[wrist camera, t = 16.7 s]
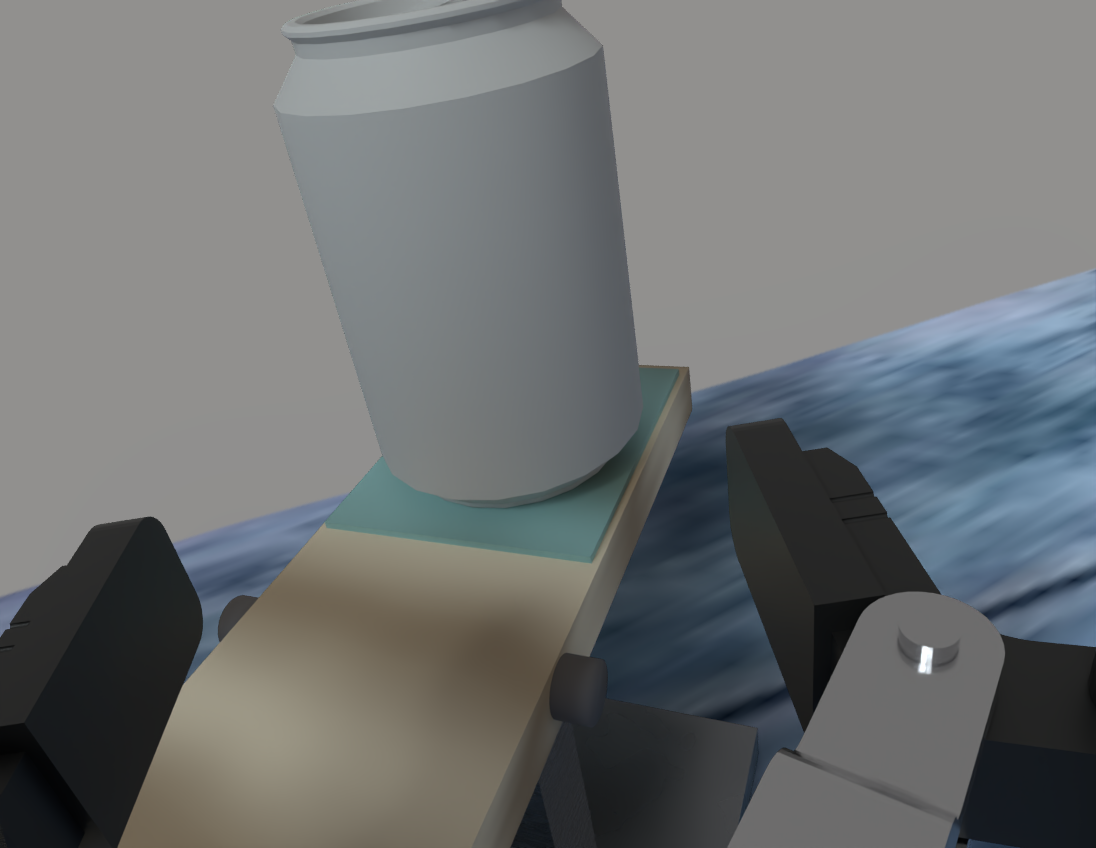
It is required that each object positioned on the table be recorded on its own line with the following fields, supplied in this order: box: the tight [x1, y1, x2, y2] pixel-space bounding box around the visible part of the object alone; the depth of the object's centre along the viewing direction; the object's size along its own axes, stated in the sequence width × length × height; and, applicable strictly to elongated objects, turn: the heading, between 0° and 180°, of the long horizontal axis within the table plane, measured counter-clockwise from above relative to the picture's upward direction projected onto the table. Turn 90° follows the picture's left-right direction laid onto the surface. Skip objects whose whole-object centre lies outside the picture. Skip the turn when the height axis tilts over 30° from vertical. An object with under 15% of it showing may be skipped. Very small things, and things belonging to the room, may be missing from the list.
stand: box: [510, 698, 758, 848], centre depth 22 cm, size 12×14×8 cm
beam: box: [117, 365, 692, 848], centre depth 19 cm, size 26×10×2 cm, turn 159°
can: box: [273, 0, 643, 508], centre depth 22 cm, size 8×8×12 cm
